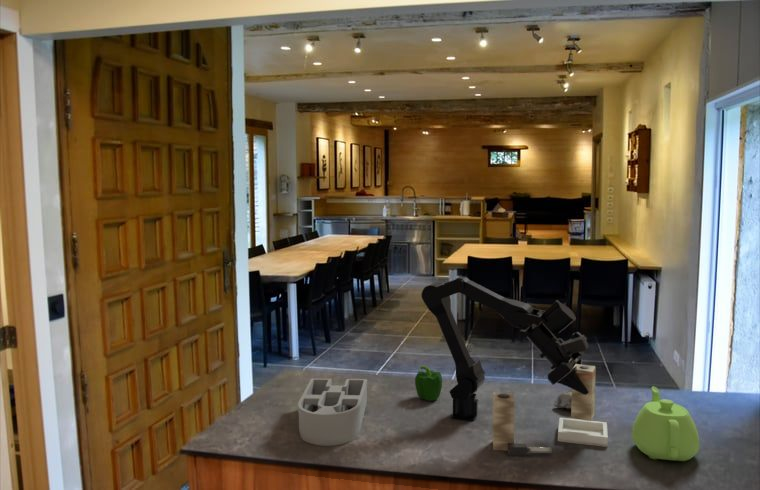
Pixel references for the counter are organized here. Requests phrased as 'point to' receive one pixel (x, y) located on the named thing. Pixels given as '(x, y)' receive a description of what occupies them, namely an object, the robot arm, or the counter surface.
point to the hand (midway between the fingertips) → (588, 390)
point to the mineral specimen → (564, 400)
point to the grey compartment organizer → (332, 411)
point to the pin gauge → (525, 449)
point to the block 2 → (583, 403)
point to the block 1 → (503, 420)
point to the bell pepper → (428, 384)
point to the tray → (583, 432)
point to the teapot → (665, 430)
